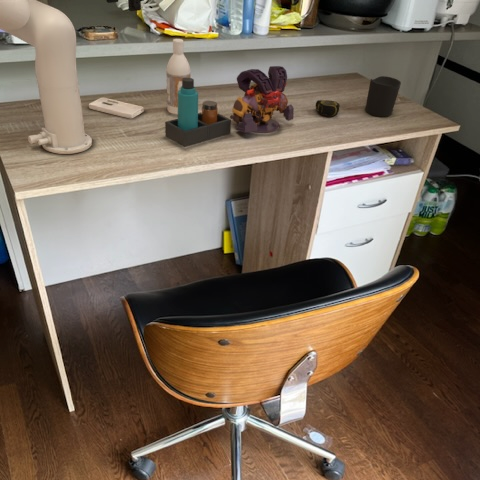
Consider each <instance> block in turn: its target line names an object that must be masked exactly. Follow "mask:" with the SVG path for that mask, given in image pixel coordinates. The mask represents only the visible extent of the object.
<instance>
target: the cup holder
mask: <svg viewBox="0 0 480 480" xmlns="http://www.w3.org/2000/svg"><path fill="white" fill-rule="evenodd" d="M231 128H232V119H231V118H230V117H226V116H224V115H222V114H220V113H218V114H217V122H216V123H212V124H209V125H208V124H206V123H204V122H202V112H198V128H194V129H190V130H187V131H185V130H183V129H181V128H179V127H178V118H175V119H171V120H167V121H164V129H165V130H164V132H165V133H164V135H165V137H166V138H167V139H169V140H171V141H173V142H175V143H177V144H178V145H180V146H181V147H183V148H188V147H191V146H193V145H197V144H201V143H203V142H204V143H205V142H208V141H211V140H214V139H218V138H222V137H224V136H229V135H231Z"/></svg>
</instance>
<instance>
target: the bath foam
mask: <svg viewBox="0 0 480 480" xmlns="http://www.w3.org/2000/svg"><path fill="white" fill-rule="evenodd" d="M165 73H166V109H167V112H168V113H171V114H172V115H173V114H174V115H178V93H177V92H178V91H179V90H181V86H182V79H183V78H191V67H190V63H189V61H188V59H187V58H186V55H185V54H184V40H183V39H182V38H173V39H172V55H171V56H170V58H169V59H168V62H167V65H166V71H165Z"/></svg>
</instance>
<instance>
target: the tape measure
mask: <svg viewBox="0 0 480 480" xmlns="http://www.w3.org/2000/svg"><path fill="white" fill-rule="evenodd" d="M340 106H341V105H340V103H339V102H337V101H335V100H327V99H325V100H323V99H321V100H320V99H318V100H316V103H315V109H316V111H317V112H318V114H319V115H322V116H326V117H334V116H337V115H338V114H339V111H340Z"/></svg>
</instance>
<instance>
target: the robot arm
mask: <svg viewBox="0 0 480 480" xmlns="http://www.w3.org/2000/svg"><path fill="white" fill-rule="evenodd" d="M105 1H106V3H108V4H112V3H118V2H120V1H119V0H105ZM127 4H128V5H127V6H128V11H129V12H136V11H137V12H138V11H142V0H127ZM0 30H1V31H2V32H3V31H4V32H5V33H7V34H9V35H11V36H13V37H15V38H16V39H19V40H21V41H23V42H25V43H26V44H28V45H30V46H32V47H34V49H35V50H34V51H35V57H34V58H35V59H34V71H35V80H36V84H37V89H38V94H39V99H40V100H39V101H40V105H41V111H42V118H43V123H44V126H43V127H41V131H40V132H38V133H37V134H31V135H27V140H28V142H29V144H30V145H33V144H38V145H39V146H41V147H42V148H43V149H44V150H46V151H47V152H50V153H53V154H60V155H71V154H72V155H73V154H78V153H82V152H85V151H87V150H88V149H90V148H91V147H92V145H93V139H92V137H91V136H90V135H89V134H87V133H85V132H86V131H85V124H84V115H83V108H82V101H81V93H80V86H79V85H80V84H79V79H78V70H77V34H76V29H75V27H74V24H73V22H72V21H71V20H70V18H69V17H68V16H67V15H66V13H64V12H62V11H61V10H60V9H57V8H55V7H53V6H51V5H49V4H47V3H43V2H41V1H39V0H0Z"/></svg>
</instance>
